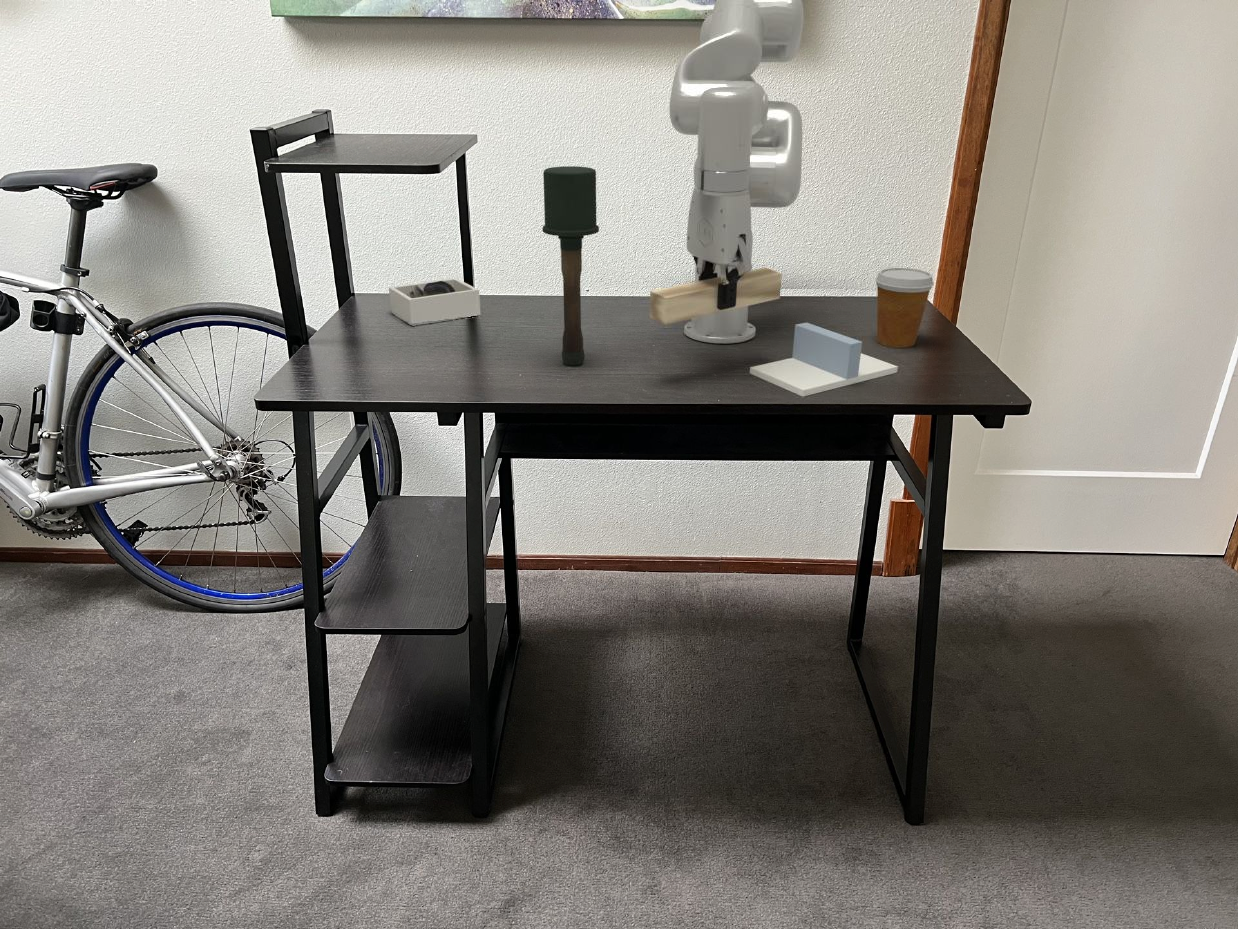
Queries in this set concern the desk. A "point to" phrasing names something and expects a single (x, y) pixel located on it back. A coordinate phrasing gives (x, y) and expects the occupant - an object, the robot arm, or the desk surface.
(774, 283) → the rod
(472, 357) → the desk surface
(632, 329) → the desk surface
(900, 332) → the disposable coffee cup
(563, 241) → the potato masher grenade
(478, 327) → the desk surface
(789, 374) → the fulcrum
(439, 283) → the eagle figurine
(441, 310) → the beige open storage bin
